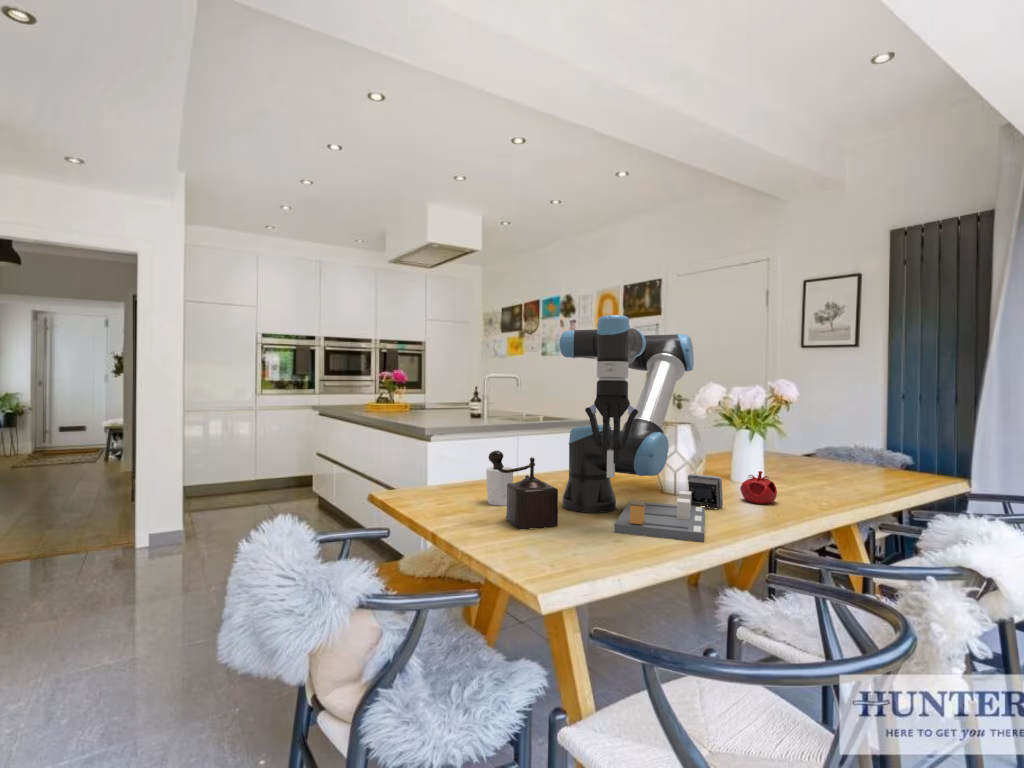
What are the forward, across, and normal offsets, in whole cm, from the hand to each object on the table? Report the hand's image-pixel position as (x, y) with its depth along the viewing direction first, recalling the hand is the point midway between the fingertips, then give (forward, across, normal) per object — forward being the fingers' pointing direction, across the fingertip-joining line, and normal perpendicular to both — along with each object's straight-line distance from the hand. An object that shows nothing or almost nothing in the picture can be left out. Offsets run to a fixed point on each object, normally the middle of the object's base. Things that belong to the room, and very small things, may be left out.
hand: (610, 476), depth 130 cm
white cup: (+13, -34, +14) cm, 39 cm away
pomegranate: (+13, +37, +46) cm, 60 cm away
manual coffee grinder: (+13, -21, -4) cm, 25 cm away
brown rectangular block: (+10, +6, 0) cm, 12 cm away
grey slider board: (+13, +12, +10) cm, 20 cm away
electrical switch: (+13, +22, +33) cm, 42 cm away
